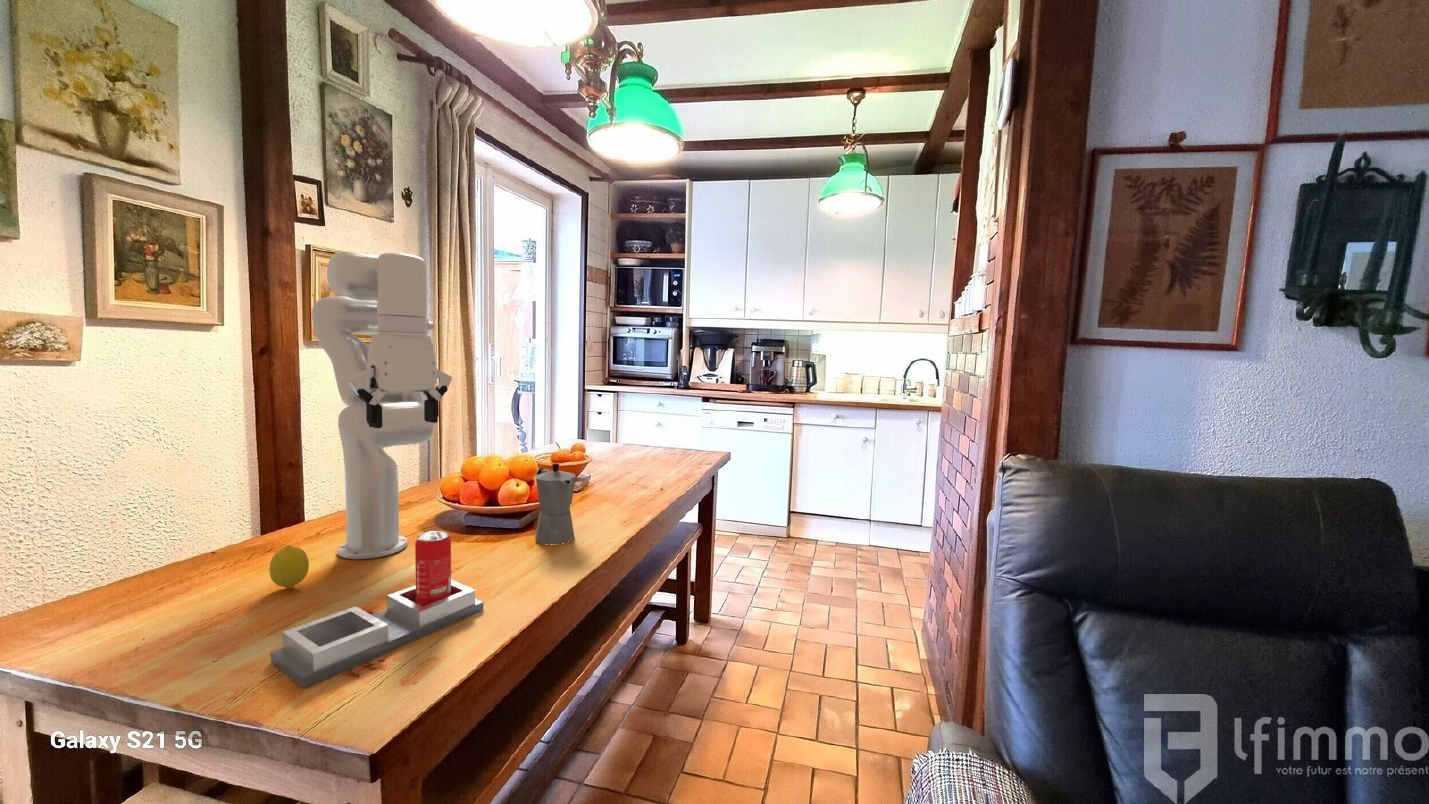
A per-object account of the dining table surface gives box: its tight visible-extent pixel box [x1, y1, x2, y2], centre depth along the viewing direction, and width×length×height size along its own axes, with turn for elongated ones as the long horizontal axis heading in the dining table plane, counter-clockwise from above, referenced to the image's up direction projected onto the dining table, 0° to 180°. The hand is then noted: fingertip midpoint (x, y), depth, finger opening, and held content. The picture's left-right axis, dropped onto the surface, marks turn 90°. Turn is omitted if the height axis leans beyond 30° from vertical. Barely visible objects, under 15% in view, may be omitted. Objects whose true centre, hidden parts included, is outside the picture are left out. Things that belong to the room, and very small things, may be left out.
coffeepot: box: [534, 462, 577, 546], centre depth 126 cm, size 15×9×18 cm, turn 44°
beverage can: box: [414, 530, 452, 607], centre depth 89 cm, size 5×5×12 cm
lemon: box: [268, 544, 310, 590], centre depth 96 cm, size 6×6×8 cm
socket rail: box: [270, 579, 484, 690], centre depth 83 cm, size 10×26×4 cm, turn 148°
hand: (404, 424), depth 95 cm, fingers open, 9 cm apart
